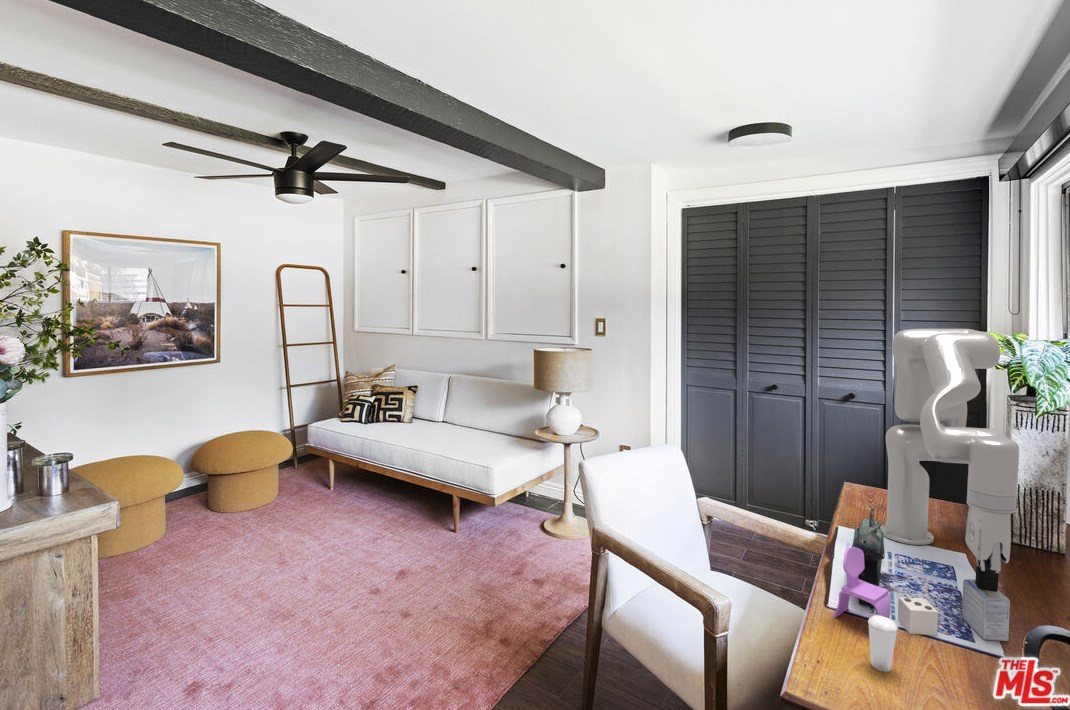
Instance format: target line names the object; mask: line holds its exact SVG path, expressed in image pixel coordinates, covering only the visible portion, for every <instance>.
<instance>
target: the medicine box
mask: <svg viewBox="0 0 1070 710" xmlns="http://www.w3.org/2000/svg"><path fill="white" fill-rule="evenodd" d="M962 583H963V584H962V604H961V605H962V607H961V618H962V619H963V620H964V621H965V622H966V623H967V624H968V625H969V626H970V627H971V628H972V629H973V630H974V631H975V632H976V633H977V634H978V635H979V636H980V637H981V638H982V639H983V640H984V641H985V640H986V641H996V642H997V641H1000V642H1009V636H1010V635H1009V634H1010V633H1009V632H1010V631H1009V630H1010V610H1011V609H1010V607H1011V606H1010V604H1011V600H1010V599H1009V597H1007V596H1006V595H1004V594H1003V593H1002V592H1001V591H1000V590H999V591H997V592H994V591H987V590H981V589H978V587H977V586H976V584H975V579H972V578H971V579H967V578H966V579H963V582H962Z"/></svg>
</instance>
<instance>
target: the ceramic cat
mask: <svg viewBox="0 0 1070 710" xmlns="http://www.w3.org/2000/svg"><path fill="white" fill-rule="evenodd" d="M874 511H875V508H874V507H871V508H870V511H869V519H868V518H863V519H862V521H861V523H860V525H859V527H855V529H854V534H853V540H852V545H851V547H856V548H859V549H861V550H862V551H863V553H864V566H865V569H864V570H863V571H862V572H861V573H860V574H859V575H858V579H860V580H863V581H865V582H867V583H870V584H872V585H875V586H878V587H880V583H881V573H882V572H881V570H882V563H883V560H884V559H885V542H884V540H885V539H884V537H885V536H884V535H883V532H882V531H881V528H880V527H881V526H882V525H883V524H881V523H880V522H879V521H878V520H875V519H874V517H875V514H874ZM857 600H858V604H859V605H862V606H864V607H865V606H866V607H870V608H874V609H876V608H875V607H874V606H873V605H872V604H871V603H869V602H866V601H864V600H862V599H860V598H858V597H857Z"/></svg>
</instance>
